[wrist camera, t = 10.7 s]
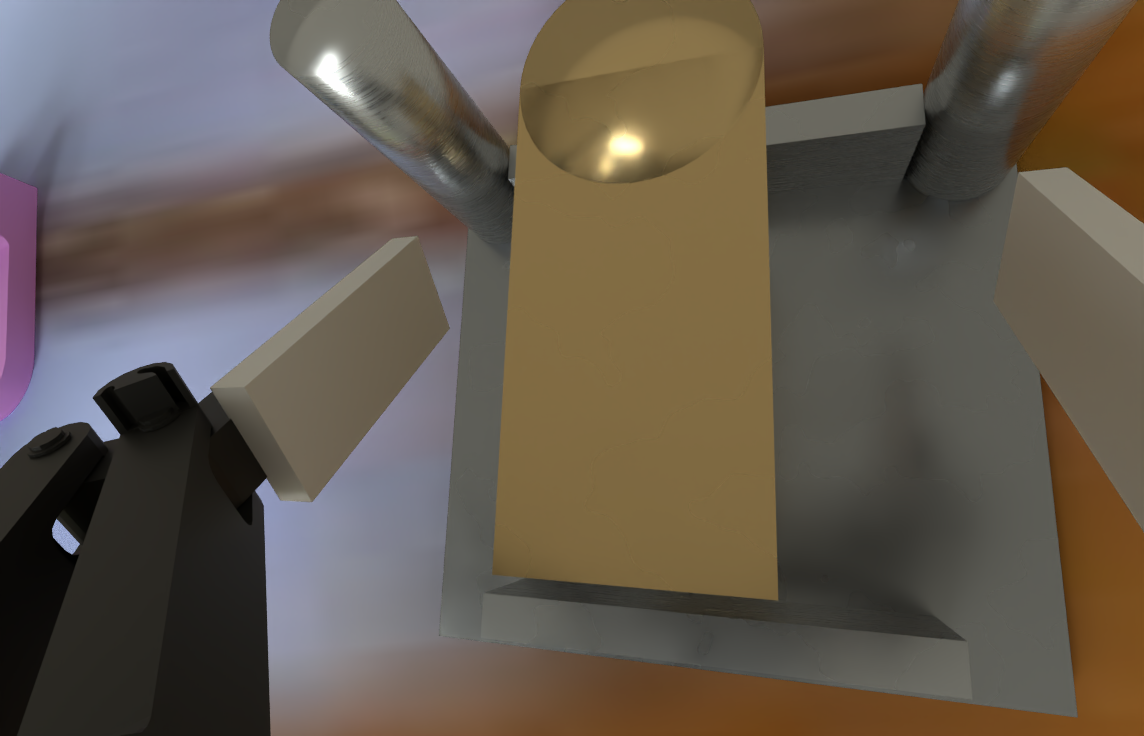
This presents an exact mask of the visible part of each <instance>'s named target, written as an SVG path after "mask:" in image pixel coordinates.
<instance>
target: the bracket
mask: <svg viewBox="0 0 1144 736" xmlns="http://www.w3.org/2000/svg"><path fill="white" fill-rule="evenodd" d="M36 232H37V188H36V187H33V186H31V185H28V184H26V183H24V182H21V181H19V180H16V179H14V178H11V177H9V176H7V175H4V174H2V173H0V421H1V420H3V419H4V418H6V417H7V416H8V415H9V414H10V413H11V412H12V411H13V410H14V409H15V408H16V407H17V405H18V404H19V403H20V401H21V400H22V398H23V396H24V394H25V392H26V390H27V388H28V386H29V383H30V380H31V376H32V372H33V367H34V345H35V288H36Z"/></svg>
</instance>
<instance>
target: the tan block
mask: <svg viewBox="0 0 1144 736" xmlns="http://www.w3.org/2000/svg"><path fill="white" fill-rule="evenodd" d="M492 575H500V576H511V577H523V578H534V579H545V580H556V581H567V582H578V583H589V584H600V585H612V586H623V587H634V588H645V589H656V590H667V591H678V592H690V593H701V594H712V595H723V596H734V597H745V598H756V599H767V600H778V571H777V533H776V495H775V457H774V420H773V382H772V344H771V306H770V268H769V231H768V193H767V155H766V117H765V79H764V44H763V35H762V29H761V25H760V21H759V18H758V15H757V13H756V11H755V9H754V7H753V4H752V3H751V1H750V0H566V1H565V2H564V3H563V4H562V5H561V6H560V7H559V8H558V9H557V10H556V11H555V12H554V13H553V14H552V16H551V17H550V18H549V19H548V21H547V22H546V23H545V25H544V26H543V28H542V29H541V31H540V32H539V34H538V35H537V37H536V39H535V41H534V43H533V45H532V47H531V49H530V51H529V54H528V56H527V59H526V62H525V65H524V69H523V73H522V79H521V87H520V101H519V118H518V135H517V153H516V170H515V187H514V205H513V222H512V239H511V257H510V274H509V291H508V309H507V326H506V343H505V361H504V378H503V395H502V413H501V430H500V447H499V464H498V482H497V499H496V516H495V534H494V551H493V568H492Z"/></svg>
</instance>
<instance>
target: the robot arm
mask: <svg viewBox="0 0 1144 736" xmlns="http://www.w3.org/2000/svg"><path fill="white" fill-rule="evenodd" d="M993 301H994V303H995V304H996V306H997V307H998V309H999V311H1000V312H1001V314H1002V315H1003V317H1004V318H1005V320H1006V321H1007V323H1008V324H1009V326H1010V327H1011V329H1012V330H1013V332H1014V334H1015V335H1016V337H1017V338H1018V340H1019V341H1020V343H1021V344H1022V346H1023V347H1024V349H1025V350H1026V352H1027V354H1028V355H1029V357H1030V358H1031V360H1032V361H1033V363H1034V364H1035V366H1036V367H1037V369H1038V370H1039V372H1040V373H1041V375H1042V377H1043V378H1044V380H1045V381H1046V383H1047V384H1048V386H1049V387H1050V389H1051V390H1052V392H1053V393H1054V395H1055V397H1056V398H1057V400H1058V401H1059V403H1060V404H1061V406H1062V407H1063V409H1064V410H1065V412H1066V413H1067V415H1068V416H1069V418H1070V420H1071V421H1072V423H1073V424H1074V426H1075V427H1076V429H1077V430H1078V432H1079V433H1080V435H1081V436H1082V438H1083V439H1084V441H1085V443H1086V444H1087V446H1088V447H1089V449H1090V450H1091V452H1092V453H1093V455H1094V456H1095V458H1096V459H1097V461H1098V463H1099V464H1100V466H1101V467H1102V469H1103V470H1104V472H1105V473H1106V475H1107V476H1108V478H1109V479H1110V481H1111V482H1112V484H1113V486H1114V487H1115V489H1116V490H1117V492H1118V493H1119V495H1120V496H1121V498H1122V499H1123V501H1124V502H1125V504H1126V506H1127V507H1128V509H1129V510H1130V512H1131V513H1132V515H1133V516H1134V518H1135V519H1136V521H1137V522H1138V524H1139V525H1140V527H1141V529H1142V530H1143V532H1144V224H1143V223H1142V222H1141V221H1139V220H1138V219H1136V218H1135V217H1134V216H1132V215H1131V214H1130V213H1128V212H1127V211H1126V210H1124V209H1123V208H1122V207H1120V206H1119V205H1117V204H1116V203H1115V202H1113V201H1112V200H1111V199H1109V198H1108V197H1107V196H1105V195H1104V194H1103V193H1101V192H1100V191H1098V190H1097V189H1096V188H1094V187H1093V186H1092V185H1090V184H1089V183H1088V182H1086V181H1085V180H1084V179H1082V178H1081V177H1079V176H1078V175H1077V174H1075V173H1074V172H1073V171H1071V170H1070V169H1069V168H1067V167H1065V168H1055V169H1046V170H1037V171H1027V172H1018V177H1017V182H1016V188H1015V193H1014V198H1013V203H1012V208H1011V213H1010V218H1009V223H1008V228H1007V233H1006V238H1005V243H1004V248H1003V254H1002V259H1001V264H1000V269H999V274H998V279H997V284H996V289H995V294H994V299H993ZM449 329H450V328H449V325H448V322H447V319H446V316H445V313H444V310H443V308H442V305H441V302H440V299H439V296H438V293H437V290H436V287H435V285H434V282H433V279H432V276H431V273H430V270H429V267H428V264H427V262H426V259H425V256H424V253H423V250H422V247H421V244H420V241H419V239H418V236H413V237H403V238H394V239H391V240H390V241H389V242H387V243H386V244H385V245H384V246H382V247H381V248H380V249H379V250H378V251H376V252H375V253H374V254H373V255H372V256H370V257H369V258H368V259H367V260H365V261H364V262H363V263H362V264H361V265H359V266H358V267H357V268H356V269H354V270H353V271H352V272H351V273H350V274H348V275H347V276H346V277H345V278H343V279H342V280H341V281H340V282H339V283H337V284H336V285H335V286H334V287H332V288H331V289H330V290H329V291H328V292H326V293H325V294H324V295H323V296H321V297H320V298H319V299H318V300H317V301H315V302H314V303H313V304H312V305H310V306H309V307H308V308H307V309H306V310H304V311H303V312H302V313H301V314H299V315H298V316H297V317H296V318H295V319H293V320H292V321H291V322H290V323H288V324H287V325H286V326H285V327H284V328H282V329H281V330H280V331H279V332H277V333H276V334H275V335H274V336H273V337H271V338H270V339H269V340H268V341H266V342H265V343H264V344H263V345H262V346H260V347H259V348H258V349H257V350H255V351H254V352H253V353H252V354H251V355H249V356H248V357H247V358H246V359H244V360H243V361H242V362H241V363H240V364H238V365H237V366H236V367H235V368H234V369H232V370H231V371H230V372H229V373H227V374H226V375H225V376H224V377H223V378H221V379H220V380H219V381H218V382H216V383H215V384H214V385H213V386H212V387H210V389H211V390H212V392H211V393H210V394H209V395H208V396H207V397H205V398H204V399H203V400H202V401H201V402H199V403H197V401H196V399H195V398H194V396H193V395H192V393H191V392H190V390H189V389H188V387H187V386H186V384H185V383H184V381H183V380H182V378H181V376H180V375H179V373H178V372H177V370H176V369H175V367H174V366H173V364H171V363H167V362H162V363H153V364H150V365H146V366H143V367H139V368H137V369H135V370H132V371H130V372H127V373H125V374H123V375H121V376H119V377H118V378H116V379H114V380H112V381H110V382H109V383H108V384H106V385H105V386H104V387H102V388H101V389H100V390H98V392H97V393H96V394H95V395H94V397H93V399H94V400H95V402H96V403H97V404H98V406H99V407H100V408H101V410H102V411H103V412H104V414H105V415H106V416H107V417H108V419H109V420H110V421H111V423H112V424H113V425H114V427H115V428H116V429H117V431H118V432H119V433H120V438H119V439H115V440H110V441H106V442H103V441H102V440H101V439H100V437H99V436H98V435H97V434H96V432H95V431H94V430H93V428H92V427H91V426H90V425H89V423H83V422H78V423H73V424H68V425H65V426H62V427H59V428H57V427H55V428H52V429H50V430H47V431H46V432H43V433H41V434H39V435H37V436H36V437H34V438H33V439H32V440H31V441H30V442H29V443H28V444H26V445H25V446H23V447H22V448H21V449H20V450H19V451H18V452H16V453H15V454H14V455H13V456H12V457H11V458H10V459H9V460H8V461H7V462H6V463H5V465H4V466H3V467H2V468H1V469H0V736H270V702H269V669H268V636H267V603H266V570H265V536H264V506H263V503H262V501H261V499H260V498H259V496H258V495H257V493H256V491H255V490H256V489H257V488H258V487H259V486H260V484H261V483H262V482H263V481H264V480H265V479H266V478H267V480H268V481H269V483H270V484H271V486H272V488H273V489H274V491H275V492H276V494H277V495H278V497H279V499H280V500H282V501H301V502H313V500H314V499H315V498H316V497H317V495H318V494H319V493H320V492H321V490H322V489H323V488H324V487H325V485H326V484H327V483H328V481H329V480H330V479H331V478H332V476H333V475H334V474H335V473H336V471H337V470H338V469H339V468H340V466H341V465H342V464H343V463H344V461H345V460H346V459H347V457H348V456H349V455H350V454H351V452H352V451H353V450H354V449H355V447H356V446H357V445H358V444H359V442H360V441H361V440H362V439H363V437H364V436H365V435H366V433H367V432H368V431H369V430H370V428H371V427H372V426H373V425H374V423H375V422H376V421H377V420H378V418H379V417H380V416H381V415H382V413H383V412H384V411H385V409H386V408H387V407H388V406H389V404H390V403H391V402H392V401H393V399H394V398H395V397H396V396H397V394H398V393H399V392H400V391H401V389H402V388H403V387H404V385H405V384H406V383H407V382H408V380H409V379H410V378H411V377H412V375H413V374H414V373H415V372H416V370H417V369H418V368H419V367H420V365H421V364H422V363H423V361H424V360H425V359H426V358H427V356H428V355H429V354H430V353H431V351H432V350H433V349H434V348H435V346H436V345H437V344H438V343H439V341H440V340H441V339H442V337H443V336H444V335H445V334H446V332H447V331H448V330H449ZM56 519H57V520H58V521H59V522H60V523H61V524H62V525H63V526H64V527H65V528H66V529H67V530H68V531H69V532H70V534H71V535H72V536H73V537H74V538H75V539H76V540H77V541H78V542H79V543H80V545H79V546H78V548H77V549H76V551H75V552H74V553H73V554H70V553H68V552H67V551H65V550H64V549H63V548H62V547H61V546H60V544H59V543H58V542H57V541H56V540H55V539H54V538H53V535H52V528H53V525H54V523H55V520H56Z"/></svg>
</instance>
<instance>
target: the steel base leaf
mask: <svg viewBox="0 0 1144 736" xmlns="http://www.w3.org/2000/svg"><path fill="white" fill-rule="evenodd" d="M1137 1H1138V0H959V2H958V4H957V7H956V10H955V12H954V15H953V17H952V20H951V23H950V25H949V28H948V30H947V33H946V36H945V38H944V41H943V44H942V46H941V49H940V51H939V54H938V57H937V59H936V62H935V65H934V67H933V70H932V72H931V75H930V78H929V80H928V83H927V85H926V88H925V91H924V93H923V86H922V84H916V85H909V86H902V87H896V88H889V89H882V90H876V91H869V92H863V93H856V94H849V95H843V96H836V97H829V98H823V99H816V100H809V101H803V102H796V103H790V104H783V105H776V106H770V107H765V117H766V155H767V193H768V231H769V268H770V306H771V344H772V382H773V420H774V457H775V495H776V533H777V571H778V600H767V599H756V598H745V597H734V596H723V595H712V594H701V593H690V592H678V591H667V590H656V589H645V588H634V587H623V586H612V585H600V584H589V583H578V582H567V581H556V580H545V579H534V578H523V577H511V576H500V575H492V568H493V551H494V534H495V516H496V499H497V482H498V464H499V447H500V430H501V413H502V395H503V378H504V361H505V343H506V326H507V309H508V291H509V274H510V257H511V239H512V222H513V205H514V187H515V170H516V153H517V145H511V146H510V148H509V147H508V146H507V144H506V143H505V142H504V140H503V139H502V138H501V136H500V135H499V134H498V132H497V131H496V130H495V129H494V127H493V126H492V125H491V123H490V122H489V121H488V119H487V118H486V117H485V116H484V114H483V113H482V112H481V110H480V109H479V108H478V106H477V105H476V104H475V103H474V101H473V100H472V99H471V97H470V96H469V95H468V93H467V92H466V91H465V89H464V88H463V87H462V86H461V84H460V83H459V82H458V80H457V79H456V78H455V76H454V75H453V74H452V73H451V71H450V70H449V69H448V67H447V66H446V65H445V63H444V62H443V61H442V60H441V58H440V57H439V56H438V54H437V53H436V52H435V50H434V49H433V48H432V47H431V45H430V44H429V43H428V41H427V40H426V39H425V37H424V36H423V35H422V33H421V32H420V31H419V30H418V28H417V27H416V26H415V24H414V23H413V22H412V20H411V19H410V18H409V17H408V15H407V14H406V13H405V11H404V10H403V9H402V7H401V6H400V5H399V4H398V2H397V1H396V0H280V2H279V4H278V6H277V8H276V10H275V13H274V16H273V19H272V23H271V28H270V45H271V50H272V53H273V55H274V57H275V59H276V61H277V62H278V63H279V65H280V66H282V67H283V68H284V69H285V70H286V71H287V72H289V73H290V74H291V75H292V76H293V77H294V78H295V79H297V80H298V81H299V82H300V83H301V84H302V85H304V86H305V87H306V88H307V89H308V90H309V91H311V92H312V93H313V94H314V95H315V96H316V97H317V98H319V99H320V100H321V101H322V102H323V103H324V104H326V105H327V106H328V107H329V108H330V109H331V110H333V111H334V112H335V113H336V114H337V115H338V116H339V117H341V118H342V119H343V120H344V121H345V122H346V123H348V124H349V125H350V126H351V127H352V128H353V129H355V130H356V131H357V132H358V133H359V134H360V135H361V136H363V137H364V138H365V139H366V140H367V141H368V142H370V143H371V144H372V145H373V146H374V147H375V148H377V149H378V150H379V151H380V152H381V153H382V154H383V155H385V156H386V157H387V158H388V159H389V160H390V161H392V162H393V163H394V164H395V165H396V166H397V167H399V168H400V169H401V170H402V171H403V172H404V173H405V174H407V175H408V176H409V177H410V178H411V179H412V180H414V181H415V182H416V183H417V184H418V185H419V186H421V187H422V188H423V189H424V190H425V191H426V192H427V193H429V194H430V195H431V196H432V197H433V198H434V199H436V200H437V201H438V202H439V203H440V204H441V205H443V206H444V207H445V208H446V209H447V210H448V211H449V212H451V213H452V214H453V215H454V216H455V217H456V218H458V219H459V220H460V221H461V222H462V223H463V224H465V225H466V226H467V227H468V239H467V253H466V267H465V280H464V294H463V308H462V322H461V336H460V350H459V364H458V378H457V392H456V406H455V420H454V434H453V448H452V462H451V476H450V490H449V503H448V517H447V531H446V545H445V559H444V573H443V587H442V601H441V615H440V629H439V636H444V637H452V638H460V639H467V640H475V641H483V642H491V643H499V644H507V645H514V646H522V647H530V648H538V649H546V650H554V651H561V652H569V653H577V654H585V655H593V656H601V657H608V658H616V659H624V660H632V661H640V662H648V663H656V664H663V665H671V666H679V667H687V668H695V669H703V670H710V671H718V672H726V673H734V674H742V675H750V676H757V677H765V678H773V679H781V680H789V681H797V682H804V683H812V684H820V685H828V686H836V687H844V688H851V689H859V690H867V691H875V692H883V693H891V694H899V695H906V696H914V697H922V698H930V699H938V700H946V701H953V702H961V703H969V704H977V705H985V706H993V707H1000V708H1008V709H1016V710H1024V711H1032V712H1040V713H1047V714H1055V715H1063V716H1071V717H1078V716H1077V707H1076V698H1075V689H1074V680H1073V670H1072V661H1071V652H1070V643H1069V634H1068V625H1067V616H1066V607H1065V598H1064V589H1063V580H1062V571H1061V562H1060V553H1059V544H1058V535H1057V526H1056V517H1055V508H1054V499H1053V490H1052V481H1051V472H1050V463H1049V454H1048V445H1047V436H1046V427H1045V418H1044V409H1043V400H1042V391H1041V382H1040V373H1039V370H1038V369H1037V367H1036V366H1035V364H1034V363H1033V361H1032V360H1031V358H1030V357H1029V355H1028V354H1027V352H1026V350H1025V349H1024V347H1023V346H1022V344H1021V343H1020V341H1019V340H1018V338H1017V337H1016V335H1015V334H1014V332H1013V330H1012V329H1011V327H1010V326H1009V324H1008V323H1007V321H1006V320H1005V318H1004V317H1003V315H1002V314H1001V312H1000V311H999V309H998V307H997V306H996V304H995V303H994V301H993V299H994V294H995V289H996V284H997V279H998V274H999V269H1000V264H1001V259H1002V254H1003V248H1004V243H1005V238H1006V233H1007V228H1008V223H1009V218H1010V213H1011V208H1012V203H1013V198H1014V193H1015V188H1016V182H1017V177H1018V174H1017V165H1016V163H1017V161H1018V160H1019V159H1020V157H1021V156H1022V155H1023V153H1024V152H1025V151H1026V149H1027V148H1028V147H1029V145H1030V144H1031V143H1032V141H1033V140H1034V139H1035V137H1036V136H1037V135H1038V133H1039V132H1040V130H1041V129H1042V128H1043V126H1044V125H1045V124H1046V122H1047V121H1048V120H1049V118H1050V117H1051V116H1052V114H1053V113H1054V112H1055V110H1056V109H1057V108H1058V106H1059V105H1060V104H1061V102H1062V101H1063V100H1064V98H1065V97H1066V96H1067V94H1068V93H1069V92H1070V90H1071V89H1072V88H1073V86H1074V85H1075V84H1076V82H1077V81H1078V80H1079V78H1080V77H1081V76H1082V74H1083V73H1084V72H1085V70H1086V69H1087V68H1088V66H1089V65H1090V64H1091V62H1092V61H1093V60H1094V58H1095V57H1096V56H1097V54H1098V53H1099V52H1100V50H1101V49H1102V47H1103V46H1104V45H1105V43H1106V42H1107V41H1108V39H1109V38H1110V37H1111V35H1112V34H1113V33H1114V31H1115V30H1116V29H1117V27H1118V26H1119V25H1120V23H1121V22H1122V21H1123V19H1124V18H1125V17H1126V15H1127V14H1128V13H1129V11H1130V10H1131V9H1132V7H1133V6H1134V5H1135V3H1136V2H1137Z"/></svg>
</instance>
